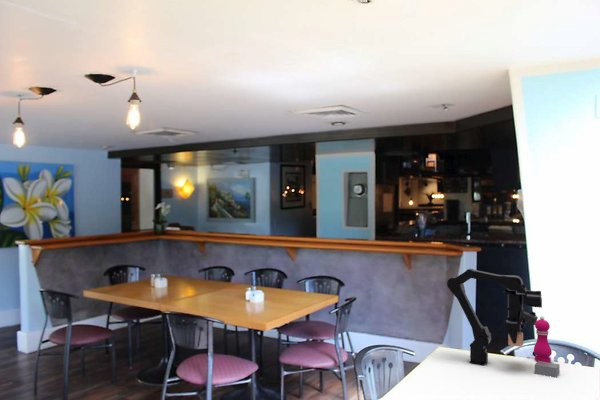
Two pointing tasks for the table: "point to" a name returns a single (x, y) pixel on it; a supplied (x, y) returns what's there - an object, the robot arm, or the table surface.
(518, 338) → the terracotta block
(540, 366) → the gray box
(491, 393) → the table surface
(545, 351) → the pepper mill
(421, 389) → the table surface
